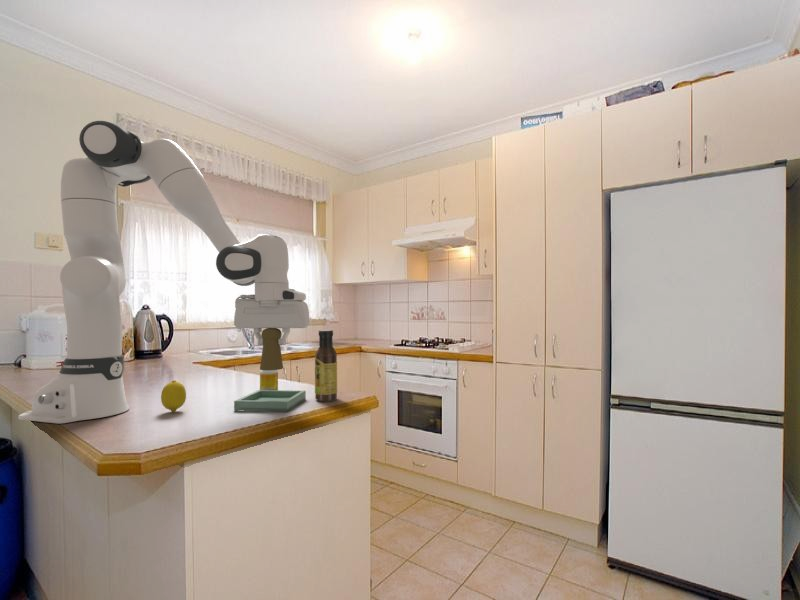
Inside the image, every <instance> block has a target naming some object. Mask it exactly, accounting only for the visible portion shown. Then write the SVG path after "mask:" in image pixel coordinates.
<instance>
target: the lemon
mask: <svg viewBox="0 0 800 600" xmlns="http://www.w3.org/2000/svg"><path fill="white" fill-rule="evenodd" d="M186 391H187V390H186V387H185V386H184V384H182V383H181V382H179V381H177V380H174V379H173V380H172V381H171V382H168V383H167V384H166V385H165V386H164V387H163V388H162V389H161V396H160V399H161V401H160V403H161V404H162V406H163V407H164V408H165V409H166V410H169V411H171V412H172V413H175V412H177V410H178V409H180V408H181V407H182V406H183V405H184V404H185V403H186V399H187V392H186Z"/></svg>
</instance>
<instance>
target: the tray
mask: <svg viewBox="0 0 800 600" xmlns="http://www.w3.org/2000/svg"><path fill="white" fill-rule="evenodd" d="M306 393H307V392H306V390H290V389H289V390H280V389H278V390H260V389H258V390H256V391H254V392H251V393H249V394H247V395H245V396H241V397H240V398H238V399H235V400H234V401H233V411H234V410H244V411H243V412H263V411H264V413H265V412H272V413H273V412H274V413H277V412H278V413H287V412H289V411H291V410H292V409H293V408H295V407H297V406H298V405H300V404H302V403H303V402H304V401H305V399H306V398H307V396H306V395H307V394H306ZM302 401H303V402H302ZM299 403H300V404H299Z"/></svg>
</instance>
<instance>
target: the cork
mask: <svg viewBox="0 0 800 600" xmlns="http://www.w3.org/2000/svg"><path fill="white" fill-rule="evenodd" d="M282 333H283V332H282V330H281V328H263V329H262V332H261V336H262V339H263V340H264V342H263V345H262V350H261V351H262V352H261V359H260V366H259V370H260V371H261V370H283V369H284V364H283V357H282V349H281V345H278V343H279V342H278V339H281V338H282V336H283V334H282Z"/></svg>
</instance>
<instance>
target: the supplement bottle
mask: <svg viewBox="0 0 800 600" xmlns="http://www.w3.org/2000/svg"><path fill="white" fill-rule="evenodd" d="M259 390H279V371H278V370H260V371H259Z"/></svg>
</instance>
